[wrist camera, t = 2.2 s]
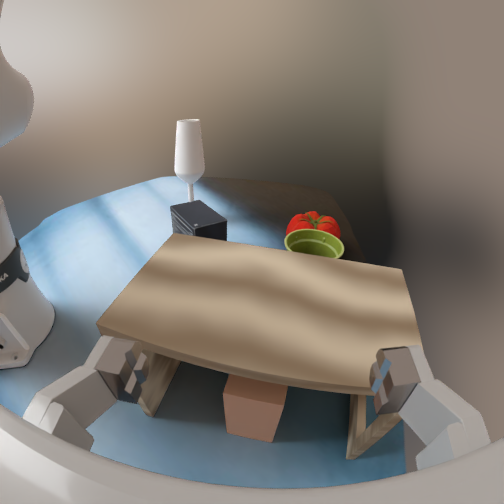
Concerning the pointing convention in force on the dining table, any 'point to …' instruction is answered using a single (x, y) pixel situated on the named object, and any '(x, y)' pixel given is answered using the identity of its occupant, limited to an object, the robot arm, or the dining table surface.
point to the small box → (198, 221)
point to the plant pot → (314, 243)
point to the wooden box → (265, 321)
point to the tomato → (314, 223)
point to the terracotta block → (253, 407)
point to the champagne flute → (189, 153)
